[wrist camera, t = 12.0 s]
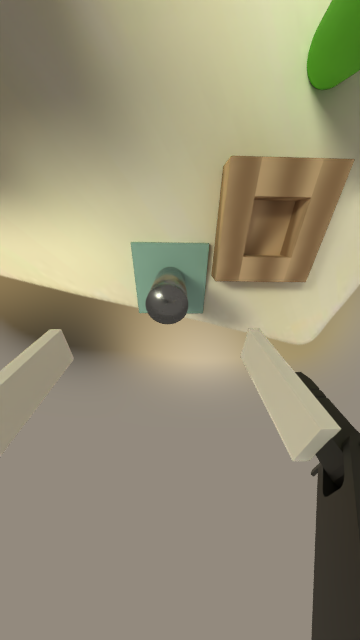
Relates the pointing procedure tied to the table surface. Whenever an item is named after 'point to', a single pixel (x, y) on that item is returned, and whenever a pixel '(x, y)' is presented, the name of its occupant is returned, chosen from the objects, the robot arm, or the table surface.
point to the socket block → (274, 216)
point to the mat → (177, 255)
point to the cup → (335, 45)
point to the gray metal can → (167, 297)
